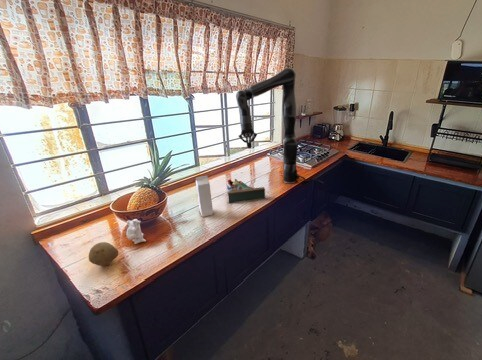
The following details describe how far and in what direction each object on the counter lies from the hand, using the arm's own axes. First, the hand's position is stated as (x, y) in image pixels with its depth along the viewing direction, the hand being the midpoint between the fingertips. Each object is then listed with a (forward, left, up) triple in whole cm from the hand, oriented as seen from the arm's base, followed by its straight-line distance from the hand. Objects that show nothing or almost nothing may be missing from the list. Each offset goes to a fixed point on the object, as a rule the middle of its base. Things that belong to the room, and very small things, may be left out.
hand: (249, 148), depth 167 cm
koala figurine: (+61, +54, -25) cm, 85 cm away
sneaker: (+9, +19, -25) cm, 33 cm away
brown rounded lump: (+70, +67, -25) cm, 100 cm away
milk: (+31, +37, -25) cm, 55 cm away
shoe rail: (+7, +28, -25) cm, 38 cm away
